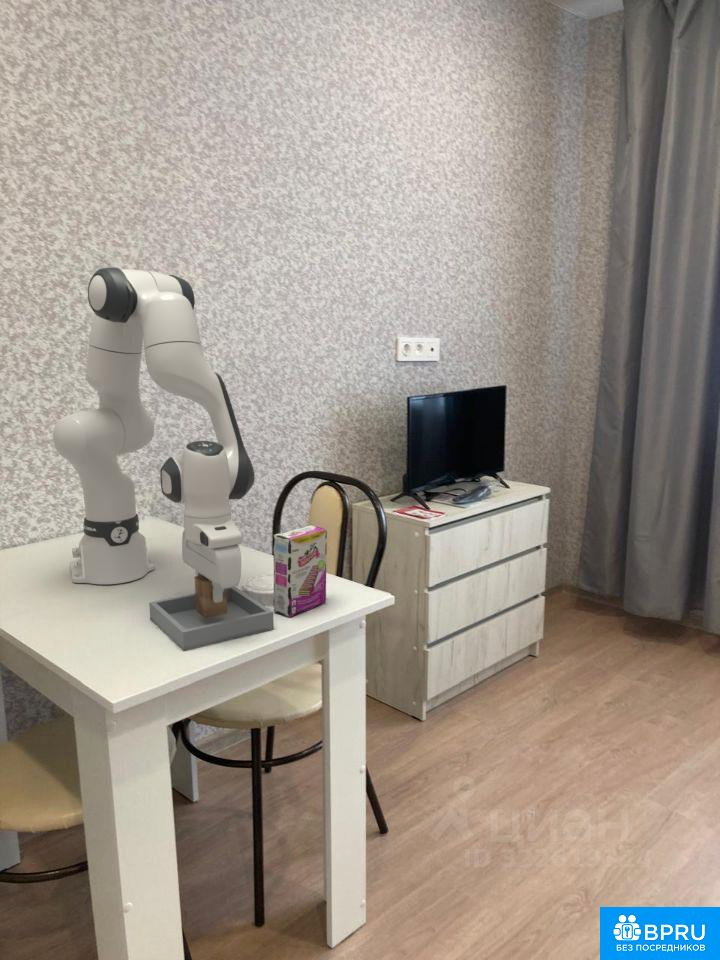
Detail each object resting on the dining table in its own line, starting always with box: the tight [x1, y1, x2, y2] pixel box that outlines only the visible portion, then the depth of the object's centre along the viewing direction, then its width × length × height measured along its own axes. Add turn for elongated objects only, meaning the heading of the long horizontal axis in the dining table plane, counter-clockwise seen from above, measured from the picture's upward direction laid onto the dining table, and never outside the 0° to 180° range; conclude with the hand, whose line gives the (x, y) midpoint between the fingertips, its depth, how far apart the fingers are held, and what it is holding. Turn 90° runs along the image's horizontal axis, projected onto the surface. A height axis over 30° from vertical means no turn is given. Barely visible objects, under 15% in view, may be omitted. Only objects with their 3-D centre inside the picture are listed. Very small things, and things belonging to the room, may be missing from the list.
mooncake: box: [241, 573, 274, 607], centre depth 160 cm, size 12×12×4 cm
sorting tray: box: [149, 586, 275, 652], centre depth 144 cm, size 18×18×4 cm
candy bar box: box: [273, 525, 328, 618], centre depth 152 cm, size 11×5×16 cm, turn 141°
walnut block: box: [194, 575, 227, 618], centre depth 143 cm, size 4×4×7 cm
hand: (210, 596), depth 143 cm, fingers closed on walnut block, 4 cm apart
